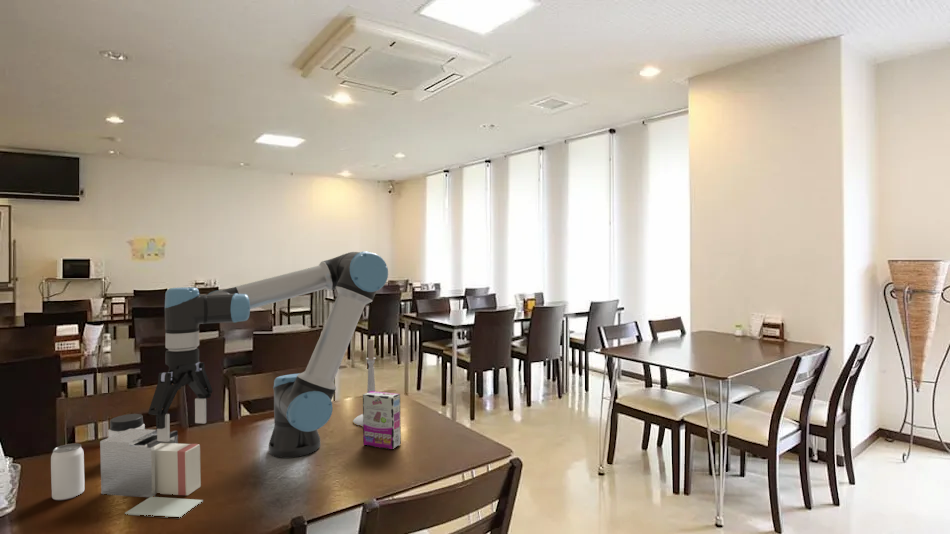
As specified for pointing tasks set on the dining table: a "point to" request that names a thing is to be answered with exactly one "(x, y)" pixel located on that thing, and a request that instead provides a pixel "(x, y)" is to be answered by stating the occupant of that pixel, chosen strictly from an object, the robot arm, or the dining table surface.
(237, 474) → the dining table surface
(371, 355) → the candlestick
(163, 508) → the pad
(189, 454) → the pink-banded white block
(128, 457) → the dispenser
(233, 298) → the robot arm
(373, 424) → the candy bar box
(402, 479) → the dining table surface
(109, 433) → the jar
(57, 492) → the can
